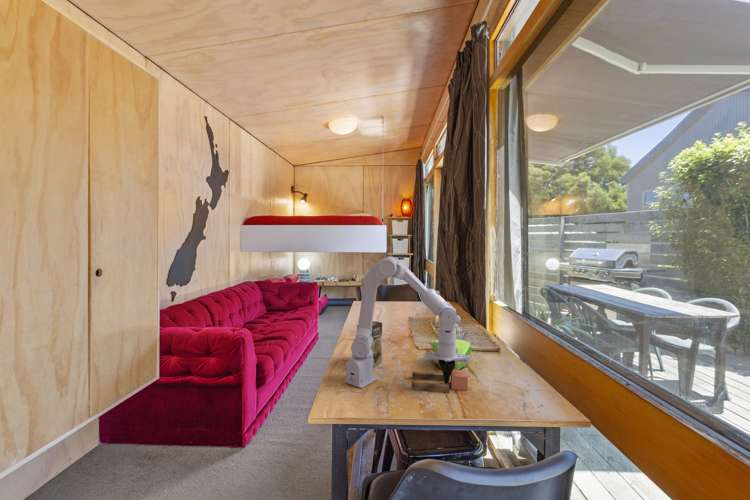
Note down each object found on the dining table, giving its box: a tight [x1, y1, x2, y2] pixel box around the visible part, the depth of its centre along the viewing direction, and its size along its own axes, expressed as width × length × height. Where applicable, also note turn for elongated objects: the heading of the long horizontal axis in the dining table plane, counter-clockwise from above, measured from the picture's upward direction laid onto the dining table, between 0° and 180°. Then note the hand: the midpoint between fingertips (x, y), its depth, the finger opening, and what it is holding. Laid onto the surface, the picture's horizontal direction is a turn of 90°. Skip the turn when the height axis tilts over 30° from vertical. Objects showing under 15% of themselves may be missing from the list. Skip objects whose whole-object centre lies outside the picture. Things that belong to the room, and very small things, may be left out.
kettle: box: [429, 338, 477, 370], centre depth 127 cm, size 15×14×11 cm
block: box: [449, 369, 469, 391], centre depth 111 cm, size 5×5×4 cm
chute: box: [410, 370, 450, 394], centre depth 112 cm, size 12×10×2 cm
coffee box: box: [356, 320, 383, 369], centre depth 128 cm, size 9×6×16 cm
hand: (446, 382), depth 111 cm, fingers closed
